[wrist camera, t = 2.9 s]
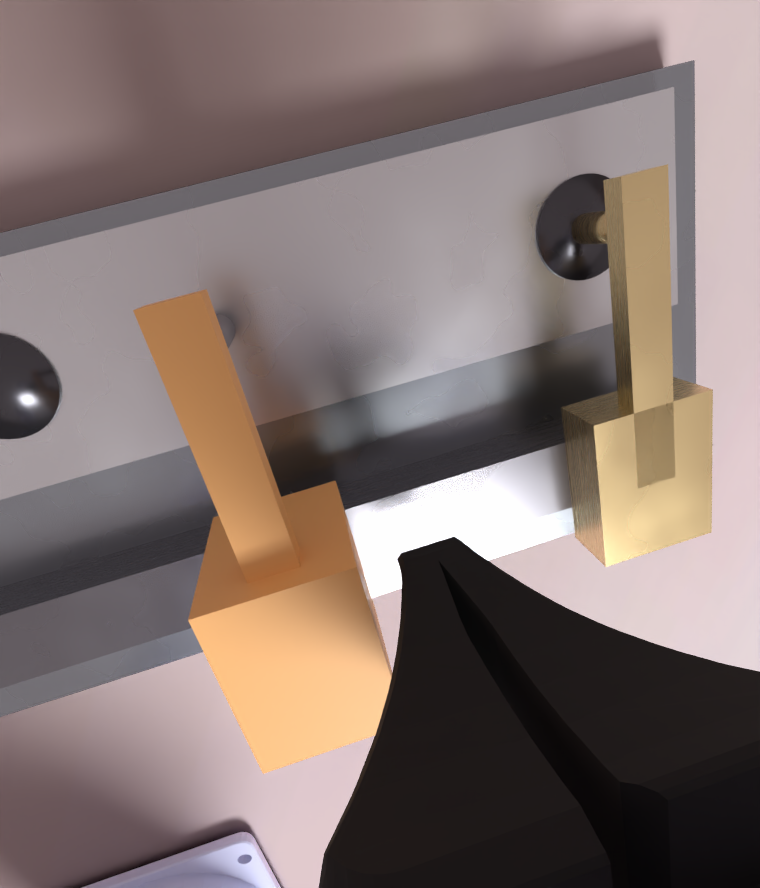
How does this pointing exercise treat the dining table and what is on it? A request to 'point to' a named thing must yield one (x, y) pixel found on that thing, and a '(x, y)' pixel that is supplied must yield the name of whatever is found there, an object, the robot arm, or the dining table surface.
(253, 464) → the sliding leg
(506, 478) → the board
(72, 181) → the dining table surface
